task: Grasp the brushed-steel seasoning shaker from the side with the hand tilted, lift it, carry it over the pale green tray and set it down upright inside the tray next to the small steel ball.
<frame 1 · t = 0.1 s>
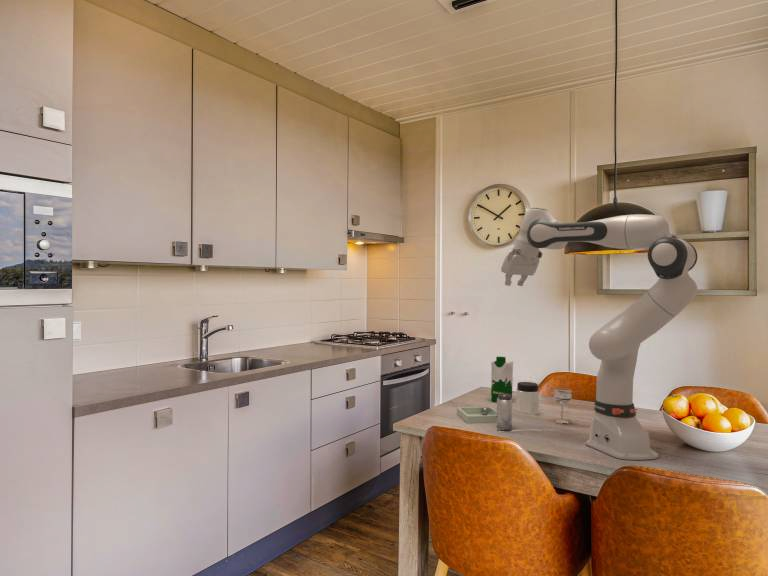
hand: (513, 285, 196), 52 cm above the table, tool tilted 20°, fingers open, 8 cm apart
shaker: (504, 429, 188), on the table
milk carton: (501, 401, 232), on the table
tray: (479, 419, 200), on the table
ball: (484, 415, 204), point 1 cm above the table, touching tray
jar: (527, 413, 212), on the table
wineglass: (561, 422, 199), on the table
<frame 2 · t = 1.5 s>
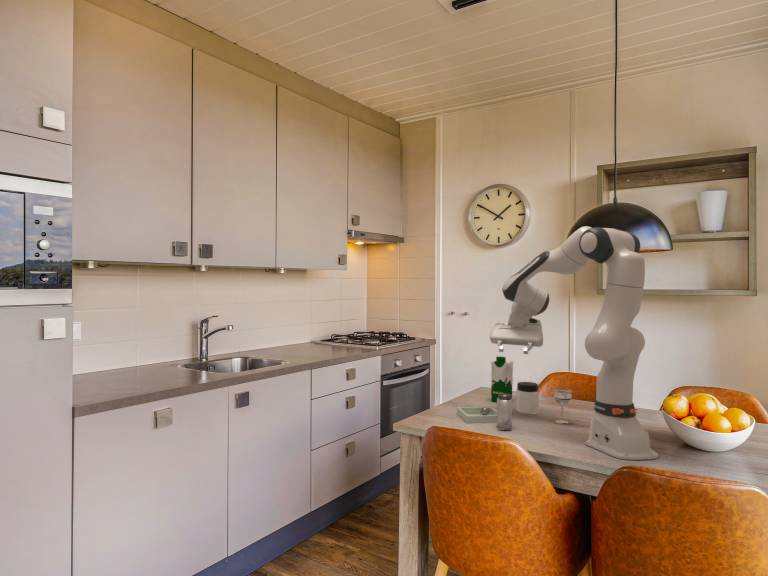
hand: (513, 352, 199), 26 cm above the table, tool tilted 45°, fingers open, 8 cm apart
nothing on the table moved.
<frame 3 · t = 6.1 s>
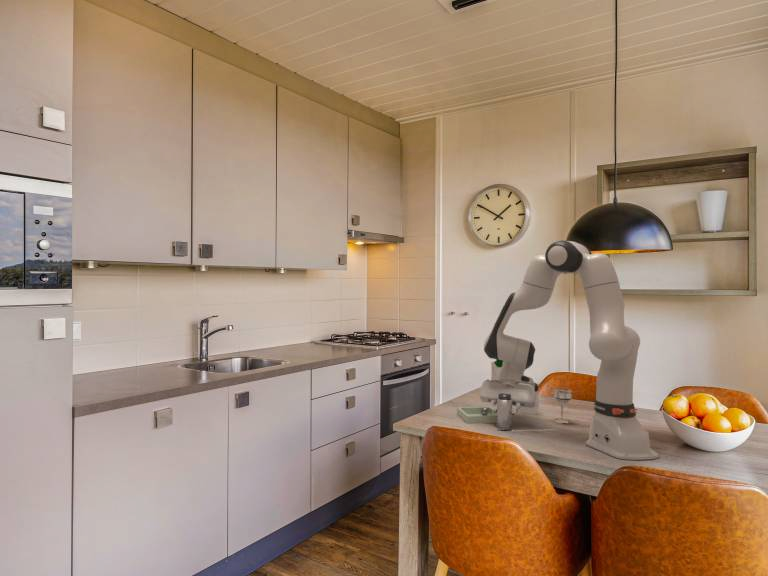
hand: (504, 413, 187), 6 cm above the table, tool tilted 45°, fingers closed on shaker, 5 cm apart
shaker: (504, 429, 188), on the table, touching gripper
everything else where it was.
when the fingers open (8 cm above the table, at t = 10.8 s): shaker drops 1 cm, resting on tray.
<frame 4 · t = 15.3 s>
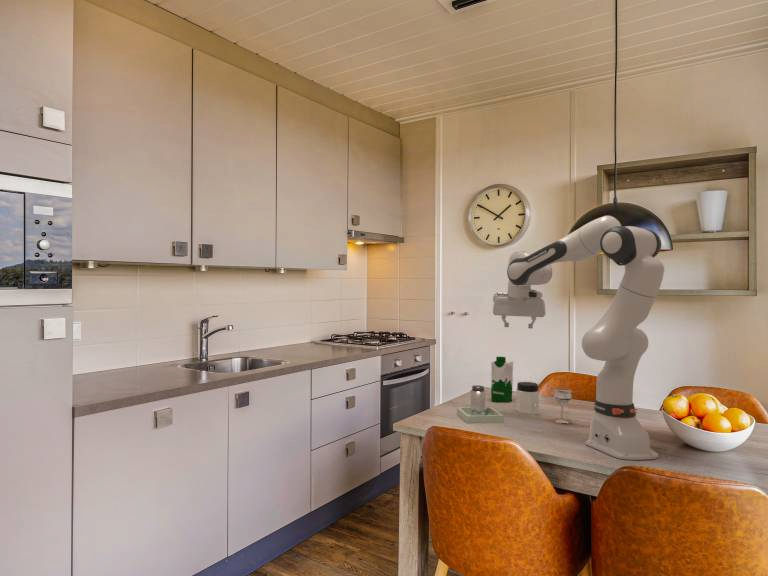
hand: (518, 327, 207), 35 cm above the table, tool pointing down, fingers open, 8 cm apart
shaker: (477, 419, 198), point 1 cm above the table, touching tray
everything else where it was.
at the end: shaker inside the target area on the tray (2.5 cm from its centre), point 0.8 cm above the tray's base; shaker tilted 0°; the gripper is holding nothing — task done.
